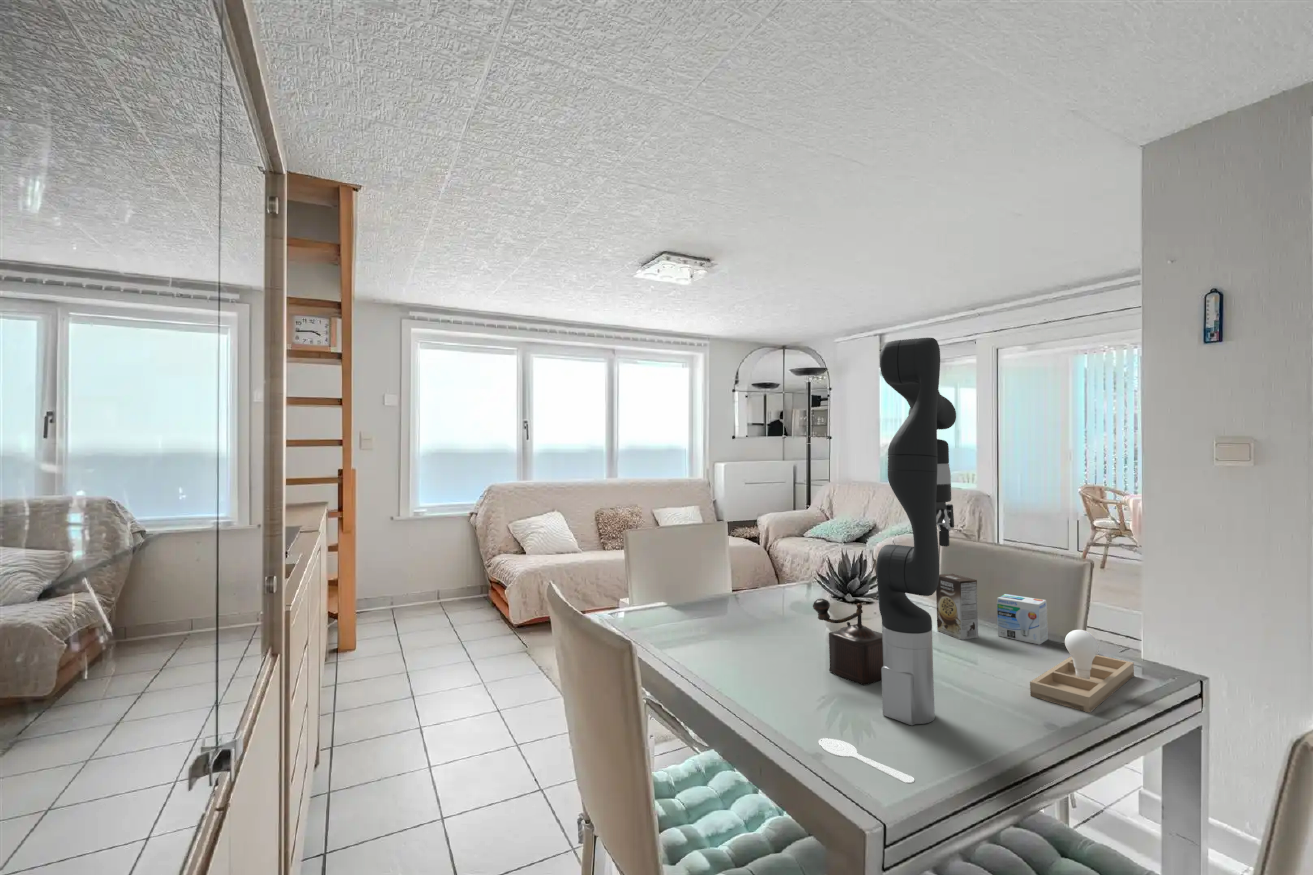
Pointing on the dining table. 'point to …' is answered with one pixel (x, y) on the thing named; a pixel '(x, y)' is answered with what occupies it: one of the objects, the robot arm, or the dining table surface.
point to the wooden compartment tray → (1082, 683)
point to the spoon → (860, 757)
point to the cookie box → (957, 606)
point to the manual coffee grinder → (853, 648)
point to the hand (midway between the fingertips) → (936, 547)
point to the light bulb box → (1022, 618)
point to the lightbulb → (1082, 651)
